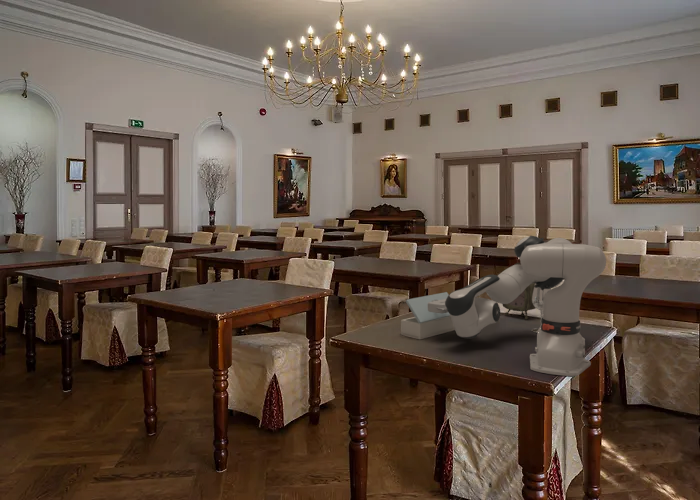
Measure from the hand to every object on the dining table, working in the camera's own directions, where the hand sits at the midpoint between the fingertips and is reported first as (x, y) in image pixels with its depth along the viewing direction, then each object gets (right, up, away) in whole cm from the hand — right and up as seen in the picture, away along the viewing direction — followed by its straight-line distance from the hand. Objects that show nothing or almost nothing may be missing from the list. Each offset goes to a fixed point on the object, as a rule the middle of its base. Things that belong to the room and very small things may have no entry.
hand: (433, 302), depth 215 cm
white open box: (-1, -12, +2) cm, 13 cm away
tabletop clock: (+44, -10, +29) cm, 54 cm away
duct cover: (0, -2, 0) cm, 2 cm away
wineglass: (+44, -12, +1) cm, 46 cm away
